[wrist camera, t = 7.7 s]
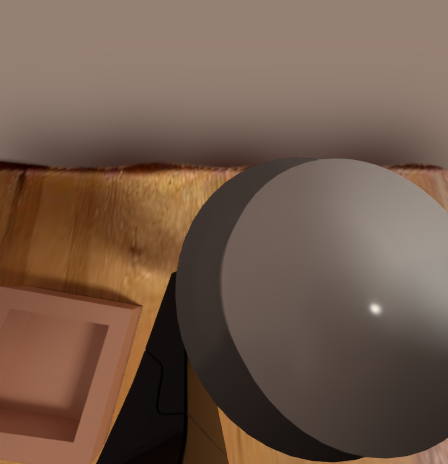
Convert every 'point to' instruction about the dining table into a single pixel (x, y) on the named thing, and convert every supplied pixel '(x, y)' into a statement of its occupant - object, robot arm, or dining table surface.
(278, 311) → the pepper mill
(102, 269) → the dining table surface
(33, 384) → the terracotta holder
